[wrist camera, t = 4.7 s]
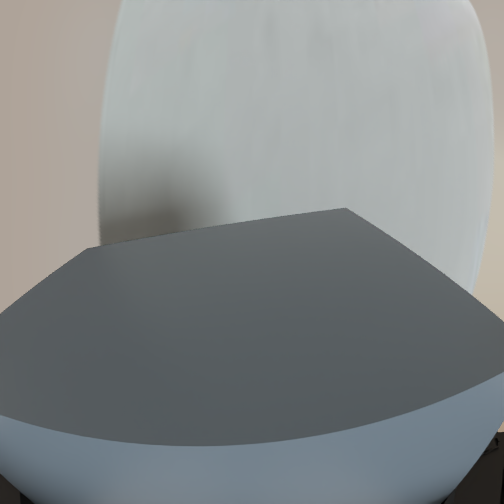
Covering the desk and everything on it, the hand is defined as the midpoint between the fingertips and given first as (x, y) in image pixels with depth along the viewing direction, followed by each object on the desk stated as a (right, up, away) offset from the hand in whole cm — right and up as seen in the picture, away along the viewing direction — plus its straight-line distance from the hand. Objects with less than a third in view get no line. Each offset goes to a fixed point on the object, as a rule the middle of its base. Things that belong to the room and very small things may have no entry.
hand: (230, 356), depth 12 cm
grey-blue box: (0, 0, +1) cm, 1 cm away
